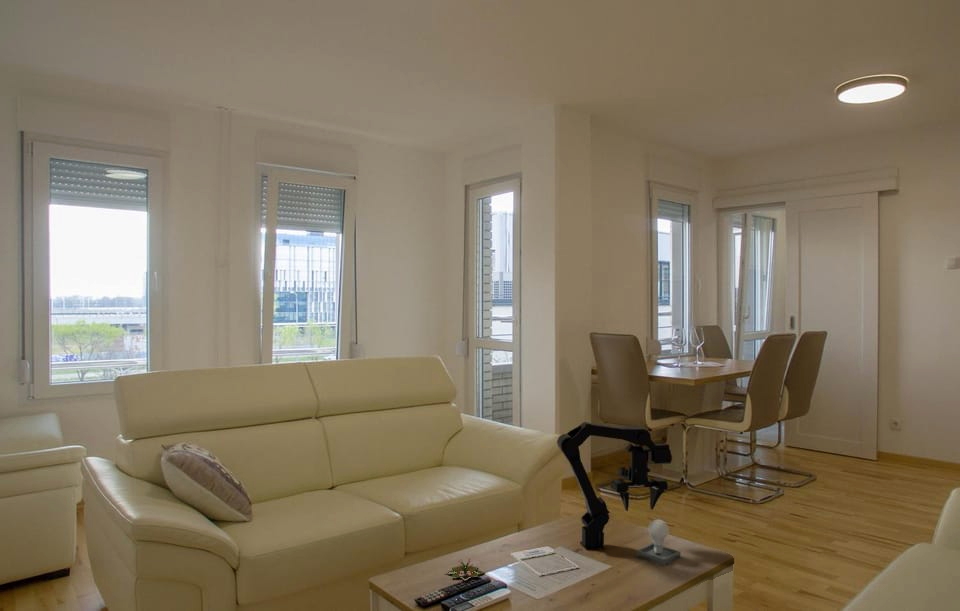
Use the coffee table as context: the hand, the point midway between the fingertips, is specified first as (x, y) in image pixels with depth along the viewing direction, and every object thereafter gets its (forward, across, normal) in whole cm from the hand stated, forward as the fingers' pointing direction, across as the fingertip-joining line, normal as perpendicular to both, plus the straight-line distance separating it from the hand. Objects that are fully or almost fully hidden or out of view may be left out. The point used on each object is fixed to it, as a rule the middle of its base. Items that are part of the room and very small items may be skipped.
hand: (639, 510), depth 209 cm
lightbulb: (+11, -2, +10) cm, 15 cm away
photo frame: (+13, +36, +7) cm, 39 cm away
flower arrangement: (+12, +62, +12) cm, 65 cm away
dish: (+12, -2, +10) cm, 16 cm away
